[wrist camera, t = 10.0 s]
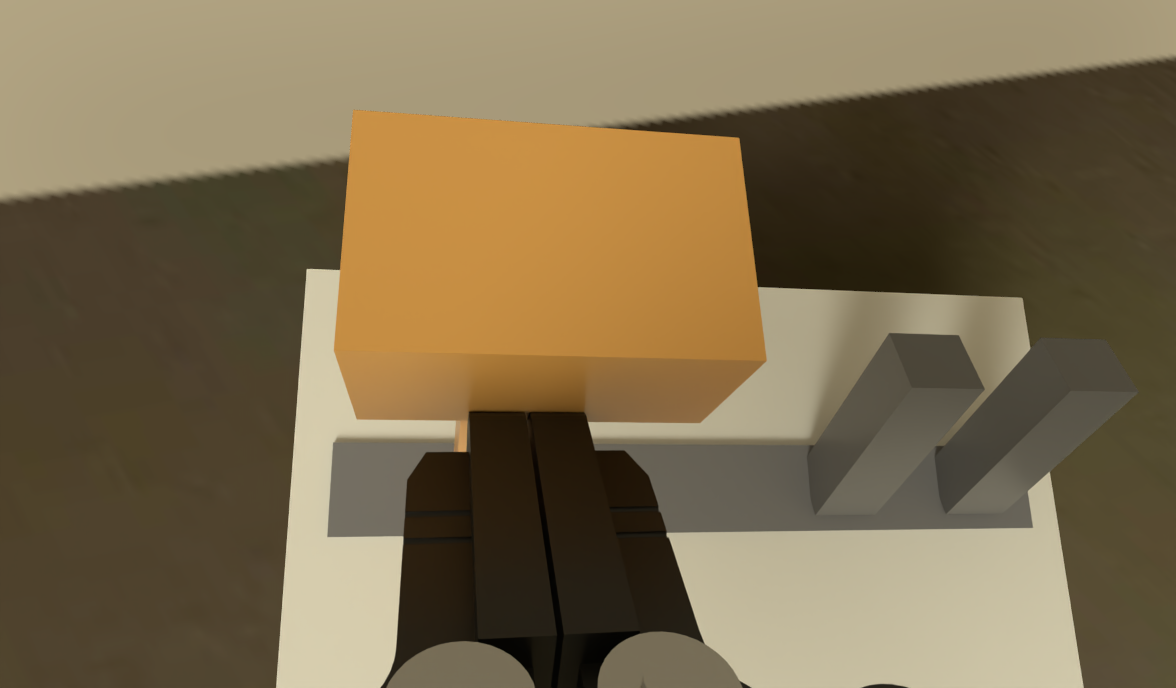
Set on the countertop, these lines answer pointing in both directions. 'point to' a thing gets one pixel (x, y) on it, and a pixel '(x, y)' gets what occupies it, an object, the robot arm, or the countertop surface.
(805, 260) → the countertop surface
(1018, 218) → the countertop surface
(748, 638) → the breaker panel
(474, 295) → the lever
